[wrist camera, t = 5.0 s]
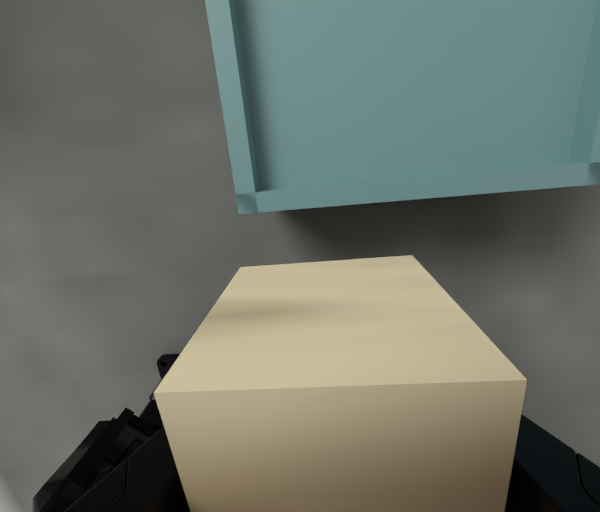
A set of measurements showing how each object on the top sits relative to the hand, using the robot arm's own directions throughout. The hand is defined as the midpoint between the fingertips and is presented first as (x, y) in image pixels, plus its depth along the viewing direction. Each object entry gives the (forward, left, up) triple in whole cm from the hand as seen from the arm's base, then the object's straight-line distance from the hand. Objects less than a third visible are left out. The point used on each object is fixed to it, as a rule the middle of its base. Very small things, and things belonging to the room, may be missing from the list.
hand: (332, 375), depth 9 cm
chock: (0, 0, -1) cm, 1 cm away
